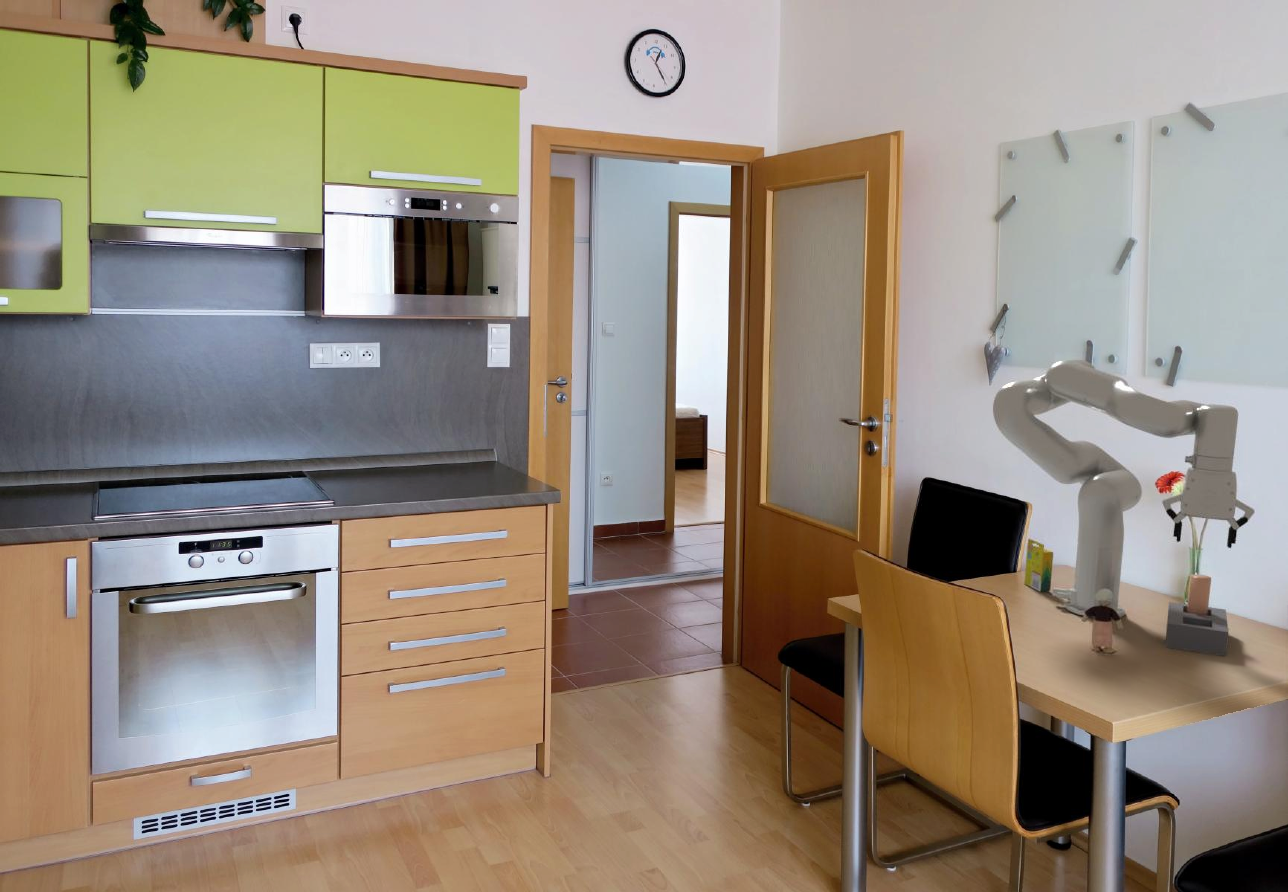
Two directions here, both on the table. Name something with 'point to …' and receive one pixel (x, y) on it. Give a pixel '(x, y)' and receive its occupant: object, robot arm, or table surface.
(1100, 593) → the grandmother figurine
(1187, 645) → the socket block
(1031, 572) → the crayon box
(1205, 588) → the terracotta peg
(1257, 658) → the table surface
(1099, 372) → the robot arm
